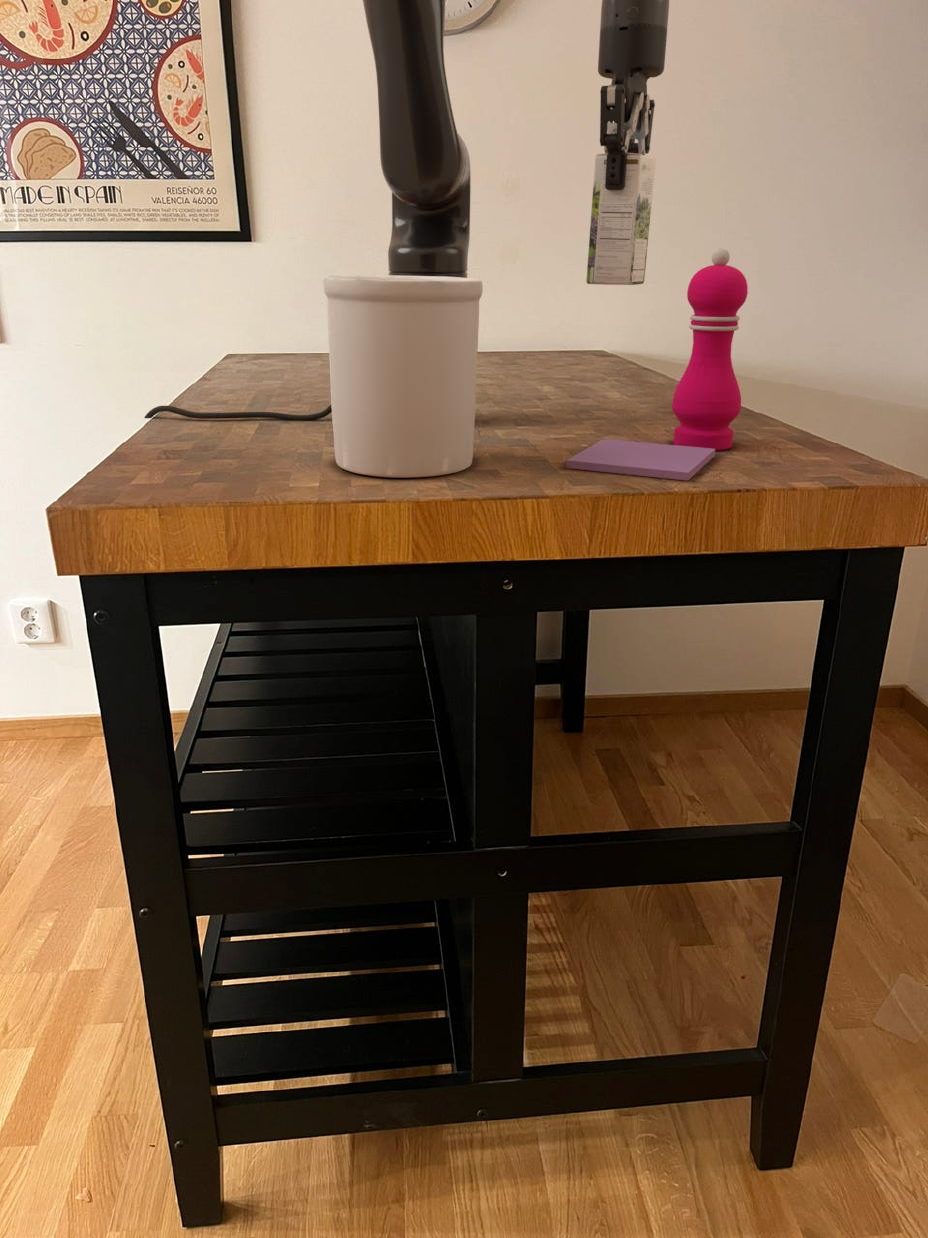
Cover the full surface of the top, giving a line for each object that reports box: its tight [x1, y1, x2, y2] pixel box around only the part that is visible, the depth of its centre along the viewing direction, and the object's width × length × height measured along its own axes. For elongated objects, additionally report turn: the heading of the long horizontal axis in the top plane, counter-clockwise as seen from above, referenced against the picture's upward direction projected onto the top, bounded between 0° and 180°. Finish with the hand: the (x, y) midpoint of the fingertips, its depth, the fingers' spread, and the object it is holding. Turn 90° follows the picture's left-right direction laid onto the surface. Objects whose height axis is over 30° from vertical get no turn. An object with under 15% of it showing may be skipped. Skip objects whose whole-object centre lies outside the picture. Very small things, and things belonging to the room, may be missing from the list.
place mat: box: [565, 438, 716, 482], centre depth 93 cm, size 12×12×1 cm
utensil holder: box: [322, 274, 484, 479], centre depth 89 cm, size 15×15×18 cm
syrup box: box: [586, 152, 656, 286], centre depth 112 cm, size 6×6×14 cm
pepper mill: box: [671, 247, 749, 452], centre depth 98 cm, size 7×7×20 cm
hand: (622, 190), depth 111 cm, fingers closed on syrup box, 5 cm apart
